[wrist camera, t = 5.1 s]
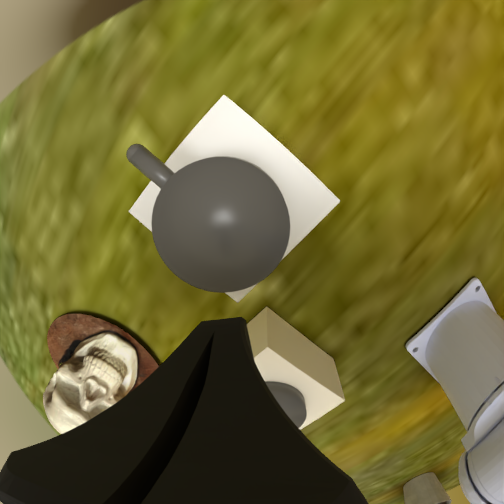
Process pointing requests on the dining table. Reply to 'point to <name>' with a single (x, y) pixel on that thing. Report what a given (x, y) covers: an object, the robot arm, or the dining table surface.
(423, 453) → the dining table surface
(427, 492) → the house plant
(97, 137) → the dining table surface
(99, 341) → the skull
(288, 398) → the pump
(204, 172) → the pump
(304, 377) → the off-white square plinth
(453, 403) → the robot arm
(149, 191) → the square base with knob
